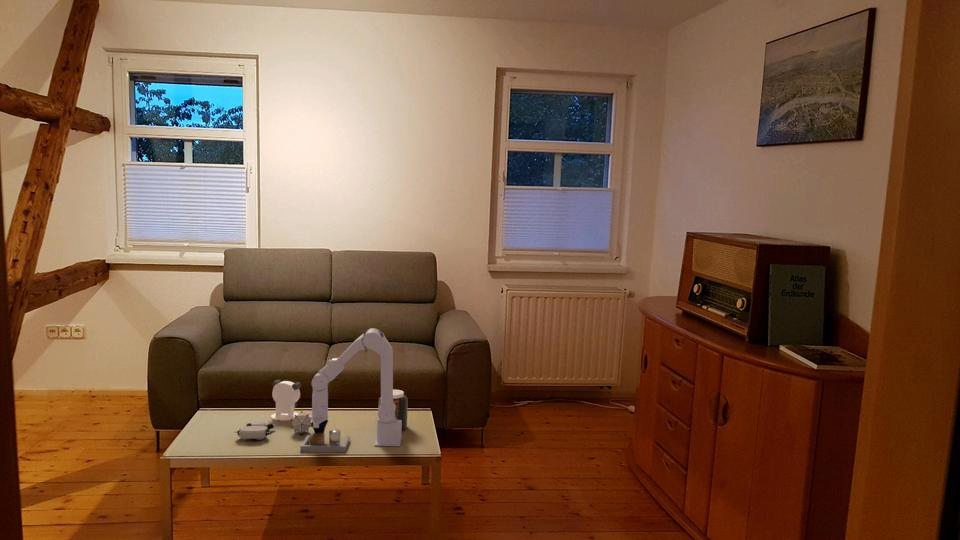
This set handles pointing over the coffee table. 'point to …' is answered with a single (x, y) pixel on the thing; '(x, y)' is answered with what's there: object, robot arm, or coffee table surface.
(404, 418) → the jar
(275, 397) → the panda figurine
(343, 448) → the parts pen
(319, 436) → the walnut block
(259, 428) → the robot toy
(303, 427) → the game die
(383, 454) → the coffee table surface
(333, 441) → the silver cylinder
